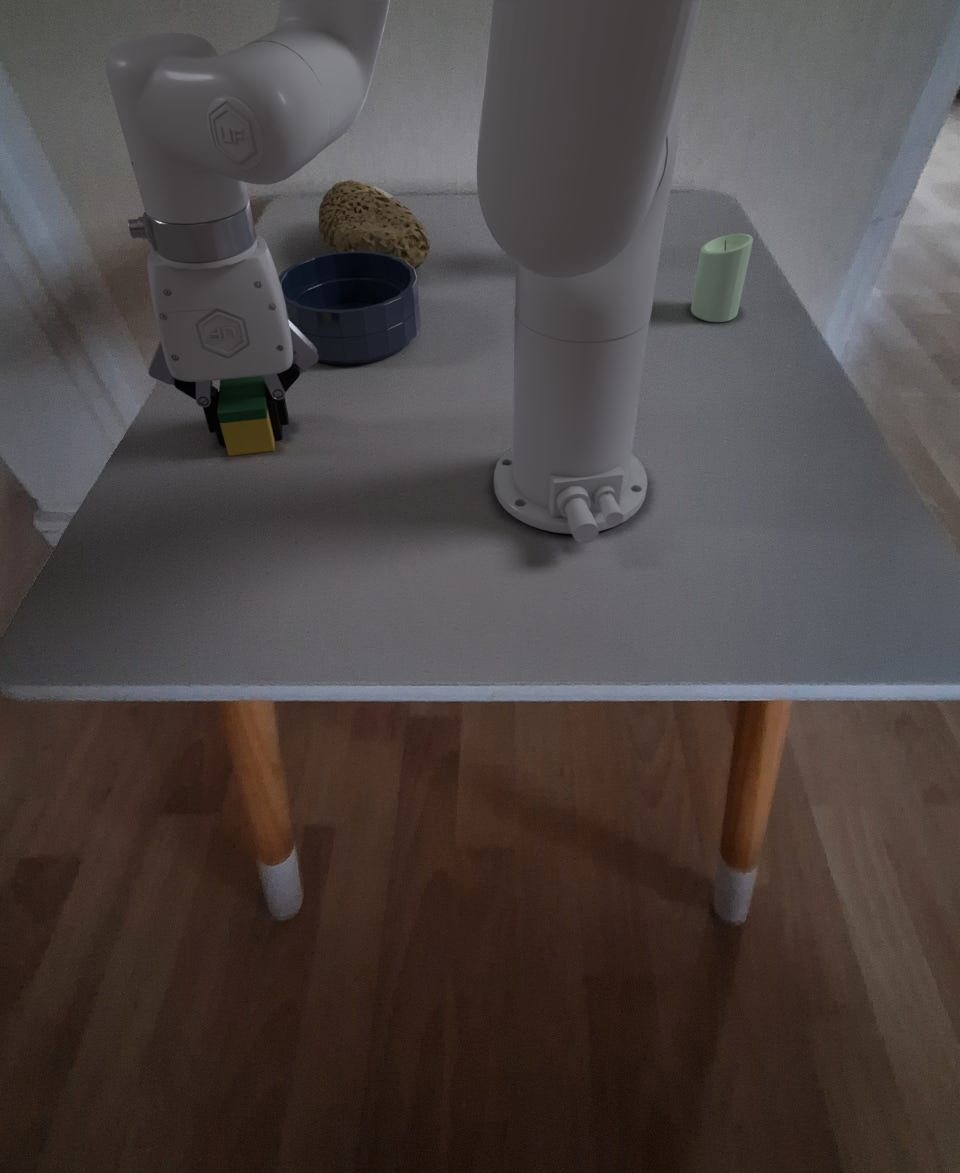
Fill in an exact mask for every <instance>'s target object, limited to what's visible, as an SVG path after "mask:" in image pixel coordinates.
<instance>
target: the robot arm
mask: <svg viewBox="0 0 960 1173" xmlns="http://www.w3.org/2000/svg"><path fill="white" fill-rule="evenodd" d="M702 2H703V0H492V3H491V14H490V23H489V32H488V33H489V34H488V43H487V51H486V52H487V53H486V61H485V63H486V64H485V72H484V81H483V90H482V99H481V110H480V119H479V129H478V139H477V150H476V151H477V152H476V153H477V154H476V189H477V196H478V201H479V206H480V211H481V213H482V216H483V219H484V221H485V224H486V226H487V229H488V231H489V232H490V234H491V236H492V238H493V239H494V241H495V242H496V244H497V245H498V246H499V247H500V249H501V250H502V251H503V253H504V254H506V255H507V256H508V258H510V259H511V260H512V261H513V262H514V263H516V264H515V267H516V268H515V294H514V299H515V300H514V325H513V326H514V331H513V333H514V334H513V335H514V336H513V340H514V341H513V404H512V406H513V407H512V408H513V409H512V413H513V414H512V447H511V448H509V449H508V450H507V451H505V453H504V454H502V455H501V457H500V458H499V460H497V462H496V465H495V468H494V471H493V488H494V494H495V496H496V499H497V500H498V503H499V504H500V505H501V506H502V507H503V509H504V510H505V511H506V512H507V513H509V514H510V515H511V516H512V517H513V518H514V519H517V520H519V521H521V522H522V523H524V524H526V525H528V526H530V527H533V528H536V529H538V530H543V531H547V532H551V533H555V534H556V533H557V534H566V535H567V534H568V535H572V538H573V539H574V541H575V542H577V543H579V544H589V543H592V542H593V541H595V539H597V538H598V535H599V533H600V532H602V531H606V530H608V529H612V528H615V527H617V526H620V525H621V524H622V523H625V522H626V521H628V520H629V519H630V518H631V517H633V516H634V515H636V514H637V512H639V509H640V508H641V507H642V506H643V504H644V501H645V499H646V496H647V489H648V475H647V472H646V469H645V467H644V465H643V464H642V462H641V461H640V460H639V458H637V457H636V456H635V455H634V454H633V449H634V441H635V436H636V435H635V433H636V426H637V420H638V419H637V418H638V411H639V405H640V404H639V403H640V396H641V390H642V383H643V382H642V380H643V374H644V367H645V360H646V351H647V345H648V338H649V336H648V335H649V329H650V323H651V318H652V311H653V304H654V298H655V289H656V283H657V276H658V269H659V268H658V267H659V261H660V255H661V250H662V241H663V237H664V236H663V235H664V230H665V224H666V217H667V214H668V207H669V201H670V195H671V189H672V183H673V179H674V172H675V166H676V160H677V154H678V145H679V131H680V125H679V124H680V123H679V111H678V109H679V108H678V103H677V99H678V94H679V91H680V86H681V82H682V79H683V74H684V71H685V67H686V65H687V64H686V63H687V61H688V60H687V59H688V55H689V52H690V47H691V44H692V40H693V36H694V33H695V28H696V24H697V21H698V17H699V13H700V9H701V6H702ZM390 3H391V0H280V3H279V8H278V14H277V19H276V23H275V28H274V30H272V31H270V32H268V33H265V34H264V35H261V36H260V37H258V38H256V39H254V40H252V41H250V42H248V43H246V44H245V45H243V46H241V47H238V48H235V49H232V50H229V51H227V52H225V53H222V54H219V52H218V50H217V49H216V48H215V46H214V45H213V44H212V43H211V42H209V41H208V40H207V39H206V38H203V37H201V36H198V35H194V34H191V33H183V32H158V33H149V34H141V35H136V36H132V37H128V38H125V39H123V40H121V41H120V42H117V43H116V44H113V46H112V47H111V48H110V49H109V51H108V52H107V56H106V60H105V71H106V72H105V73H106V76H107V80H108V85H109V89H110V92H111V95H112V98H113V102H114V107H115V108H116V112H117V117H118V121H119V124H120V127H121V131H122V134H123V138H124V142H125V146H126V148H127V152H128V155H129V159H130V163H131V166H132V169H133V174H134V177H135V180H136V184H137V188H138V192H139V194H140V199H141V202H142V205H143V209H144V212H143V215H142V216H138V217H137V218H132V219H131V218H129V219H128V220H127V222H128V223H127V224H128V230H129V234H130V236H131V238H132V239H142V240H145V241H146V240H147V241H148V243H149V244H150V245H152V247H151V249H150V251H149V253H148V255H147V257H146V262H147V263H146V264H147V276H148V283H149V291H150V296H151V297H150V298H151V303H152V308H153V312H154V317H155V322H156V327H157V330H158V334H159V339H160V340H159V343H158V345H157V347H156V349H155V352H154V353H153V356H152V358H151V359H150V360H151V361H150V362H149V368H148V375H149V377H151V378H152V379H156V380H157V381H161V382H162V383H165V384H167V385H171V386H174V388H175V389H177V390H178V391H180V392H181V393H183V394H185V395H187V396H188V397H189V398H192V400H194V401H195V402H196V405H197V406H199V407H200V408H202V409H203V414H204V417H205V421H206V424H207V427H208V431H209V433H210V434H211V433H215V434H216V437H217V441H218V443H219V446H226V444H225V440H224V436H223V433H222V429H221V426H220V422H219V418H218V415H217V411H218V399H219V389H218V388H217V387H216V386H214V385H213V381H220V380H224V379H235V378H245V377H255V376H262V377H263V379H264V381H265V383H266V385H267V407H268V412H269V416H270V421H271V426H272V430H273V435H274V438H275V439H276V440H283V439H284V438H283V437H284V436H283V434H284V433H283V431H284V430H283V426H289V425H290V423H289V422H290V420H289V418H290V417H289V413H288V412H289V411H288V408H287V401H286V397H285V396H286V392H288V390H289V389H290V388H291V387H292V386H293V384H294V383H295V382H296V381H297V380H298V379H299V378H300V375H301V374H303V373H304V372H307V370H309V369H310V368H311V367H312V366H314V365H315V364H316V363H318V362H317V361H318V359H319V357H318V349H317V348H316V347H315V346H314V345H313V344H312V343H311V342H310V341H309V340H308V339H307V338H306V337H305V336H304V335H303V333H302V332H301V331H300V330H299V329H298V328H297V327H296V326H295V325H294V324H293V323H292V322H291V321H290V320H289V316H288V312H287V308H286V304H285V300H284V296H283V292H282V288H281V284H280V281H279V275H278V272H277V268H276V265H275V263H274V259H273V257H272V254H271V252H270V248H269V246H268V244H267V242H266V240H265V238H264V237H263V236H261V235H259V234H257V232H256V228H255V223H254V222H255V221H254V217H253V212H252V207H251V202H250V196H249V192H248V187H247V184H252V185H260V186H261V185H273V184H278V183H280V182H283V181H285V180H288V178H290V177H292V176H294V175H295V174H296V173H298V172H299V171H300V170H302V169H303V168H304V167H305V166H307V165H308V164H309V163H310V162H311V161H313V160H314V159H316V157H317V156H318V155H319V154H320V153H322V152H323V151H324V150H326V148H328V147H329V146H330V145H332V144H333V143H334V142H336V141H337V140H339V139H340V138H341V137H343V136H344V135H345V134H346V133H347V132H348V131H349V130H350V129H351V128H352V126H353V125H354V123H355V122H356V120H357V118H358V116H360V114H361V111H362V109H363V106H364V104H365V102H366V99H367V97H368V93H369V91H370V86H371V83H372V80H373V75H374V72H375V68H376V63H377V60H378V56H379V51H380V48H381V43H382V39H383V37H384V31H385V27H386V23H387V19H388V15H389V9H390ZM294 352H295V354H294Z"/></svg>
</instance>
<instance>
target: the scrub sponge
mask: <svg viewBox="0 0 960 1173" xmlns="http://www.w3.org/2000/svg"><path fill="white" fill-rule="evenodd" d="M218 392H219V399H218V411H217V415H218V418H219V422H220V426H221V429H222V433H223V436H224V440H225V444H226V445H225V447H226V451H227V454H228V457H233V456H241V455H250V454H259V453H267V452H268V453H269V452H275V450H276V448H275V447H276V446H275V445H276V443H275V439H276V438H274V435H273V430H272V426H271V421H270V416H269V412H268V407H267V385H266V383H265V381H264V379H263V377H262V376H255V377H245V378H235V379H224V380H219V389H218Z"/></svg>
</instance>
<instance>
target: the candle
mask: <svg viewBox="0 0 960 1173" xmlns="http://www.w3.org/2000/svg"><path fill="white" fill-rule="evenodd" d="M753 241H754V237H753V236H752V235H751V234H748V233H731V234H727V235H726V234H725V235H722V236H718V237H716V238H713V239H711V240H709V241H707V242H706V243H704V244H703V245H702V247H701V248H700V251H699V257H698V263H697V270H696V275H695V282H694V287H693V294H692V300H691V306H690V312H691V314H692V315H693V316H694V317H696V318H698V319H699V320H702V321H704V322H708V323H709V322H710V323H724V322H725V323H727V322H729V321H731V320H734V319H735V318H736V317H738V314H739V309H740V304H741V299H742V295H743V289H744V285H745V281H746V276H747V270H748V266H749V261H750V257H751V252H752V247H753Z"/></svg>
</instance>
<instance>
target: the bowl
mask: <svg viewBox="0 0 960 1173" xmlns="http://www.w3.org/2000/svg"><path fill="white" fill-rule="evenodd" d="M278 277H279V281H280V284H281V288H282V292H283V296H284V300H285V304H286V308H287V312H288V316H289V320H290V321H291V322H292V323H293V324H294V325H295V326H296V327H297V328H298V329H299V330H300V331H301V332H302V333H303V335H304V336H305V337H306V338H307V339H308V340H309V341H310V342H311V343H312V344H313V345H314V346H315V347H316V348H317V349H318V357H319V359H318V361H317V362H316V363H321V364H326V365H327V364H328V365H335V366H336V365H337V366H354V365H364V364H369V363H374V362H377V361H381V360H384V359H387V358H389V357H392V356H394V355H396V354H398V353H399V352H402V351H403V350H404V349H405V348H406V347H407V346H408V345H409V344H410V342H411V341H412V340H414V338H416V337H417V335H418V332H419V330H420V328H421V314H420V313H421V310H420V299H419V298H420V297H419V284H418V276H417V272H416V268H415V269H414V268H413V267H412V266H411V265H410V264H408V263H407V262H406V261H405V260H402V259H400V258H398V257H395V256H393V255H390V254H385V253H380V252H375V251H354V250H353V251H341V252H333V251H331V252H326V253H322V254H318V255H314V256H310V257H308V258H305V259H303V260H300V261H297V262H295V263H293V264H292V265H290V266H289V267H287V268H286V269H284V270H283V271H282V272H281V273H280V275H278Z"/></svg>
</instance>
